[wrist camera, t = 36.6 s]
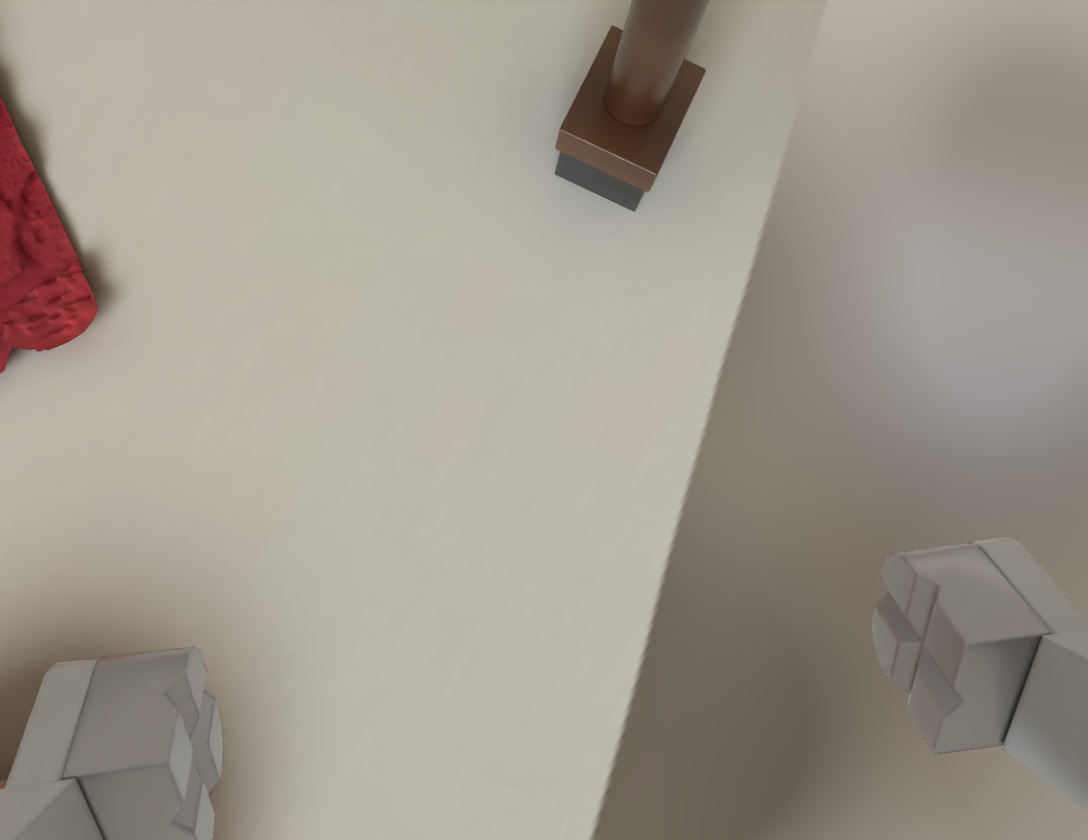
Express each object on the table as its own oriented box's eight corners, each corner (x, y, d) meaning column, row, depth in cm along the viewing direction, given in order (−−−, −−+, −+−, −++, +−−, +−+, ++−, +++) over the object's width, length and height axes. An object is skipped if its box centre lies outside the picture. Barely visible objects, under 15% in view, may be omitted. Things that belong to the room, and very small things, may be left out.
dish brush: (596, 79, 43) (685, -236, 27) (682, 119, 43) (820, -172, 27) (548, 176, 42) (611, -96, 26) (637, 218, 42) (753, -29, 26)
